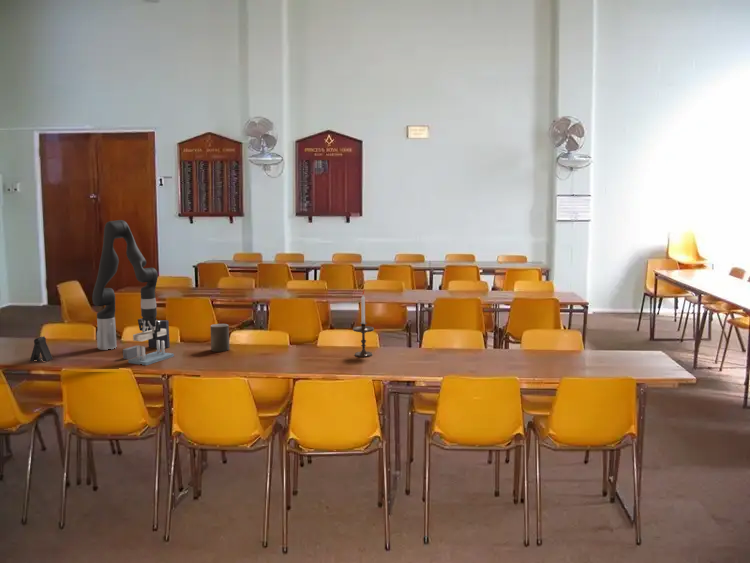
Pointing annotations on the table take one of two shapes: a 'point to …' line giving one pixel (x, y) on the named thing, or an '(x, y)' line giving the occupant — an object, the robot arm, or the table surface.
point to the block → (131, 352)
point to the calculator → (164, 338)
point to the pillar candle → (219, 337)
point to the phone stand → (40, 350)
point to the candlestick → (363, 330)
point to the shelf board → (148, 335)
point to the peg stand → (151, 355)
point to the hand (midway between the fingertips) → (150, 339)
